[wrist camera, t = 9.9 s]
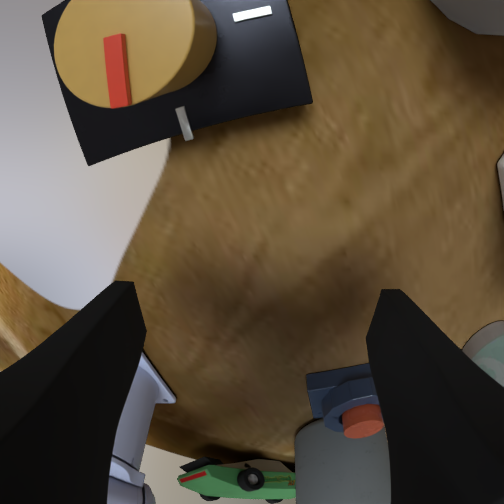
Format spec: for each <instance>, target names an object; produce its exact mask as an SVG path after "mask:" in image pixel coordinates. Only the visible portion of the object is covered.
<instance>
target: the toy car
mask: <svg viewBox="0 0 504 504" xmlns="http://www.w3.org/2000/svg"><path fill="white" fill-rule="evenodd" d="M180 468H181V469H183V470H184V471H185V472H187V473H185V474H182V475H179V476H178V478H177V480H178V482H179V484H180V485H181V486H183V487H185V488H188V489H190V490H193V491H195V492H198V493H199V494H200V496H201V497H202V498H203V499H204V500H206V501H213V500H217V499H219V498H220V497H226V498H243V499H265V500H266V501H267V502H268V503H271V504H273V503H278V502H281V501H282V500H283V499H291V498H295V497H296V480H295V473H292V472H291V471H290V470H289V469H288V468H287V467H285V466H284V465H283V464H282V463H281V462H280V461H274V460H264V459H256V460H250V461H244V462H238V463H231V464H223V463H222V462H221V461H220V460H219V459H215V458H210V457H202V458H200V459H198V460H195V461H193V462H190V463H188V464H185V465H183V466H181V467H180Z"/></svg>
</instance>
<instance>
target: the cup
mask: <svg viewBox="0 0 504 504" xmlns="http://www.w3.org/2000/svg"><path fill="white" fill-rule="evenodd" d="M431 1H432V2H433V3H434V4H435V5H436V6H437V7H438V8H439V9H440V10H441V11H442V12H443V13H444V14H445V16H446V17H447V18H448V19H450V20H452V21H454V22H456V23H457V24H459V25H461V26H463V27H465V28H467V29H468V30H470V31H472V32H474V33H476V34H488V35H504V0H431Z"/></svg>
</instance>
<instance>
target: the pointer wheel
mask: <svg viewBox="0 0 504 504" xmlns="http://www.w3.org/2000/svg"><path fill="white" fill-rule="evenodd" d="M216 41H217V31H216V25H215V22H214V19H213V17H212V14H211V13H210V11H209V10H208V8H207V7H206V6H205V5H204V4H203V3H202V2H201V1H200V0H71V1H70V2H69V3H68V5H67V7H66V8H65V10H64V12H63V14H62V16H61V18H60V20H59V23H58V26H57V29H56V34H55V40H54V56H55V63H56V66H57V70H58V72H59V75H60V77H61V79H62V80H63V82H64V84H65V85H66V86H67V88H68V89H69V90H70V91H71V92H72V93H73V94H74V95H75V96H77V97H78V98H80V99H81V100H83V101H85V102H87V103H89V104H91V105H95V106H98V107H104V108H111V109H114V108H122V107H127V106H131V105H135V104H138V103H140V102H143V101H146V100H149V99H152V98H155V97H158V96H161V95H164V94H167V93H170V92H173V91H176V90H179V89H181V88H183V87H185V86H187V85H188V84H190V83H191V82H193V81H194V80H195V79H196V78H197V77H198V76H199V75H200V74H201V73H202V72H203V71H204V70H205V69H206V67H207V66H208V64H209V62H210V61H211V59H212V56H213V54H214V51H215V47H216Z"/></svg>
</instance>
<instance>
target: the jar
mask: <svg viewBox="0 0 504 504" xmlns="http://www.w3.org/2000/svg"><path fill="white" fill-rule="evenodd" d="M497 168H498V173H499V179H500V186H501V193H502V201H503V209H504V154H503V155H502V157H501V158H500V160H499V161H498V163H497Z"/></svg>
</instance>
